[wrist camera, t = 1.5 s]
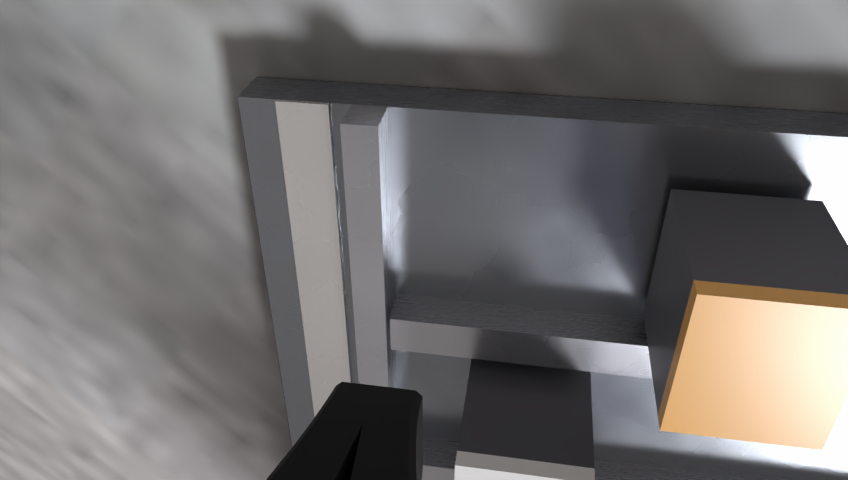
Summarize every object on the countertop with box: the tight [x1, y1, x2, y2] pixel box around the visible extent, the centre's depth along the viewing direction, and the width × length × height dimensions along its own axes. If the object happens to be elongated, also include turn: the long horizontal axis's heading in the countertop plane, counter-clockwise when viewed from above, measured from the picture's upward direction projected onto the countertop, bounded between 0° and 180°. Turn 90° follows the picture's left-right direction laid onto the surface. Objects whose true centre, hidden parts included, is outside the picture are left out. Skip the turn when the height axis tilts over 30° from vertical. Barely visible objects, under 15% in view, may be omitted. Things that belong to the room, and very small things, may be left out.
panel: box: [238, 77, 848, 480], centre depth 19 cm, size 16×20×2 cm
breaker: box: [454, 359, 595, 480], centre depth 18 cm, size 3×3×4 cm
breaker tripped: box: [643, 189, 848, 450], centre depth 14 cm, size 3×3×4 cm
